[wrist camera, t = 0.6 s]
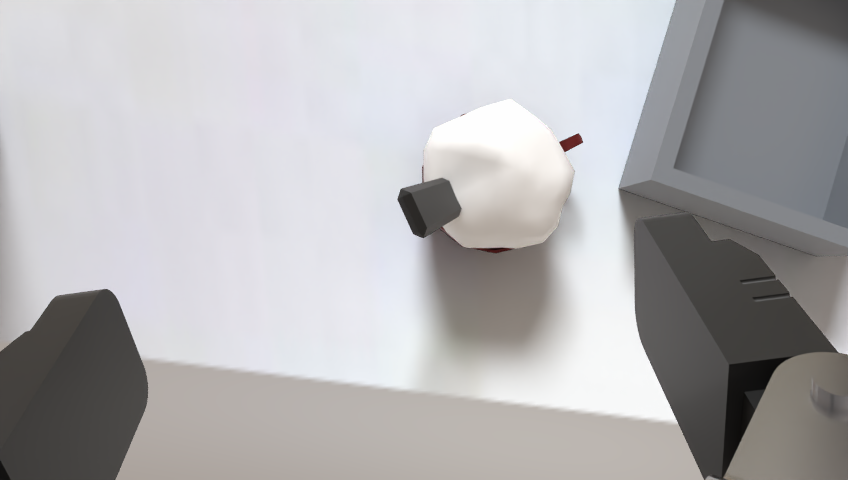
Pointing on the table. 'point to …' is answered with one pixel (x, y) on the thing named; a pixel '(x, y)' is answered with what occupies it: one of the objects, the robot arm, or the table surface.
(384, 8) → the table surface
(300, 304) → the table surface
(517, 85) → the table surface
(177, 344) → the table surface
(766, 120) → the dock tray
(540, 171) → the cocoa
